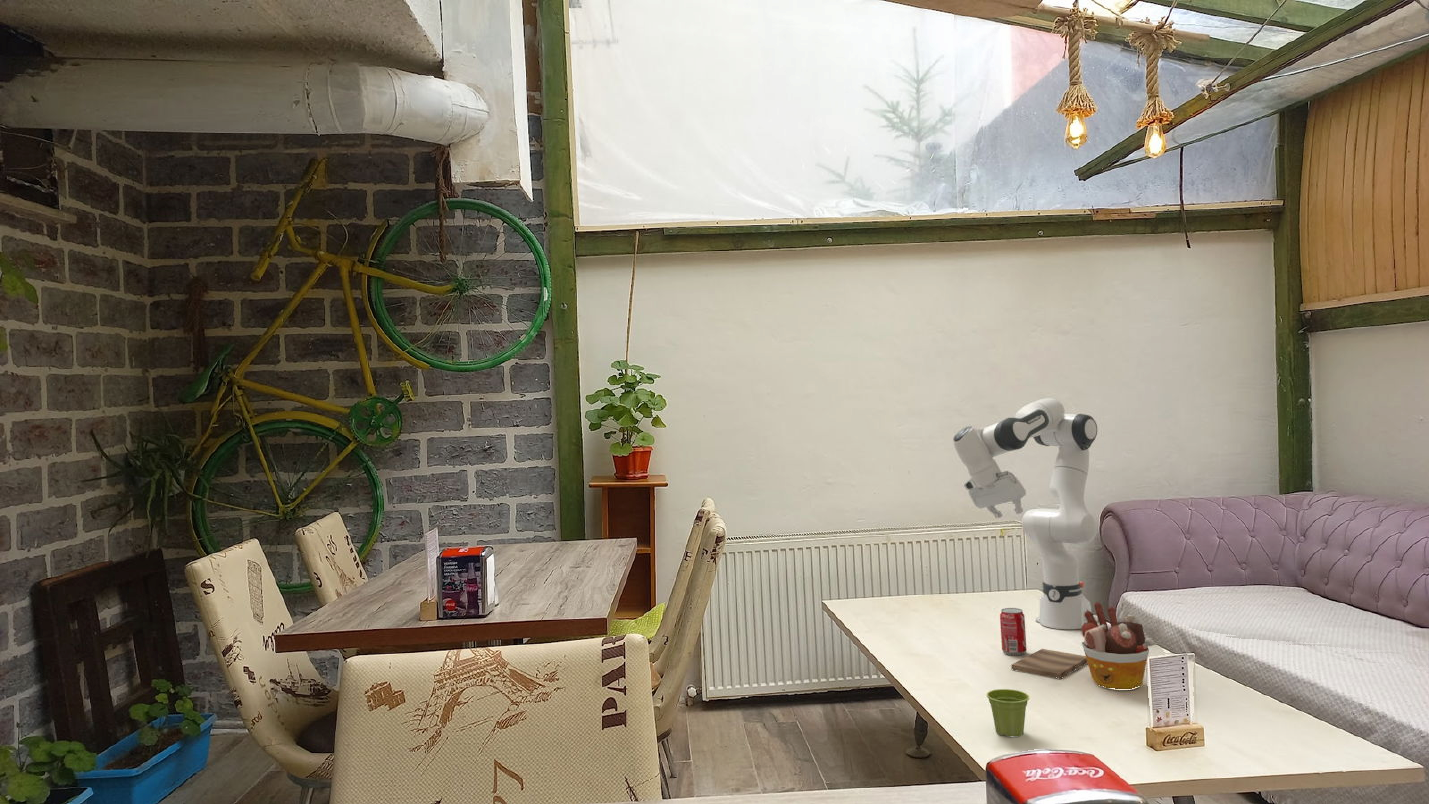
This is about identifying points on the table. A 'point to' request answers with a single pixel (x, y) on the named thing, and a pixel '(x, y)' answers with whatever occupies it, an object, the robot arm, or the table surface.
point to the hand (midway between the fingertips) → (1009, 515)
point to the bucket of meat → (1115, 650)
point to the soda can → (1013, 631)
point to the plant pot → (1008, 710)
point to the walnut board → (1050, 663)
